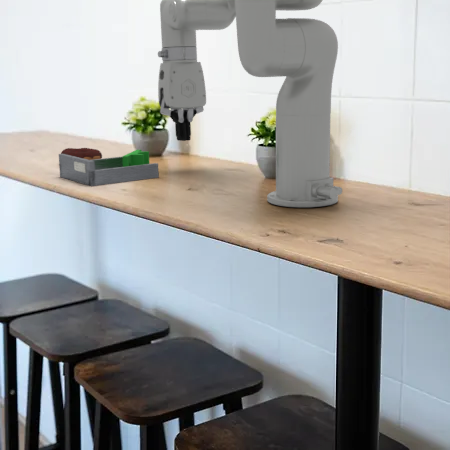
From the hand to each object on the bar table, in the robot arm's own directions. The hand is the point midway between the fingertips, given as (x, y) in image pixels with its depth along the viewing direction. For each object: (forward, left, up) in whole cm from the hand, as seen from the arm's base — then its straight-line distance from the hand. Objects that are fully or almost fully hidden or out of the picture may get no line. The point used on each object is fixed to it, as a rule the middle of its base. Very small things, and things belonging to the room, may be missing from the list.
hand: (183, 140), depth 173 cm
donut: (+26, +13, -7) cm, 30 cm away
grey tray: (+4, +17, -7) cm, 19 cm away
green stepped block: (+6, +9, -7) cm, 13 cm away
